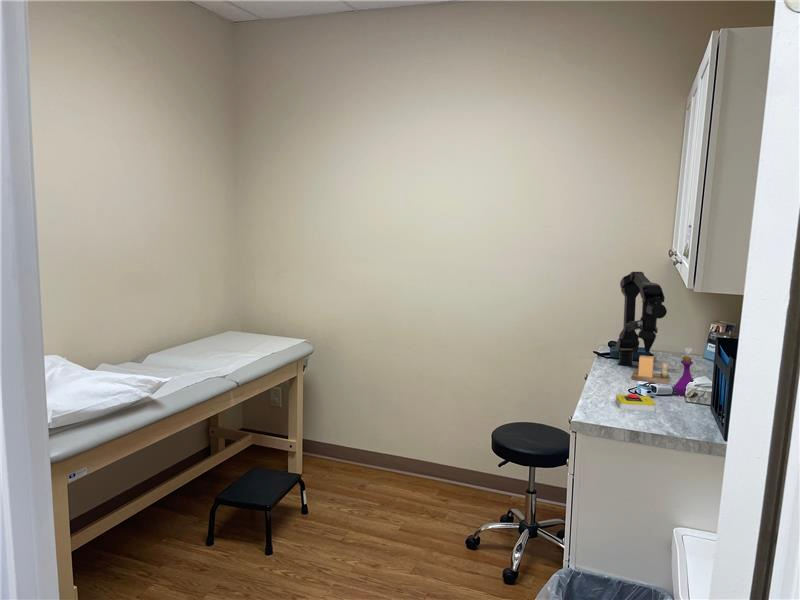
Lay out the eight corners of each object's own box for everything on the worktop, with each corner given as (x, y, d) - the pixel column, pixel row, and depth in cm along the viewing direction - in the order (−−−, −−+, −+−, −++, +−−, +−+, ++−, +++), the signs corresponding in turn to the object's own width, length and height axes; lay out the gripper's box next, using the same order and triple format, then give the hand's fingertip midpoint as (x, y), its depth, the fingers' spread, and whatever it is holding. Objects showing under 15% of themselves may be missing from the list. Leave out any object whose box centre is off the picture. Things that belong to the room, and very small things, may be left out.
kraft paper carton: (639, 372, 240) (640, 355, 239) (652, 374, 238) (653, 356, 237) (638, 375, 235) (639, 357, 234) (652, 377, 233) (653, 358, 232)
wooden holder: (633, 374, 243) (634, 357, 242) (669, 378, 237) (671, 360, 236) (631, 379, 234) (632, 361, 234) (668, 384, 228) (670, 365, 227)
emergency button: (611, 390, 204) (656, 393, 201) (610, 402, 204) (655, 405, 201) (616, 397, 195) (663, 400, 192) (615, 410, 195) (662, 413, 192)
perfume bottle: (694, 399, 207) (698, 350, 205) (672, 396, 211) (675, 348, 209) (698, 395, 213) (701, 347, 211) (676, 391, 217) (679, 345, 215)
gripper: (630, 310, 245) (628, 346, 247) (626, 316, 229) (623, 354, 231) (658, 312, 240) (656, 349, 242) (656, 318, 224) (653, 357, 226)
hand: (647, 352), depth 235 cm, fingers closed
